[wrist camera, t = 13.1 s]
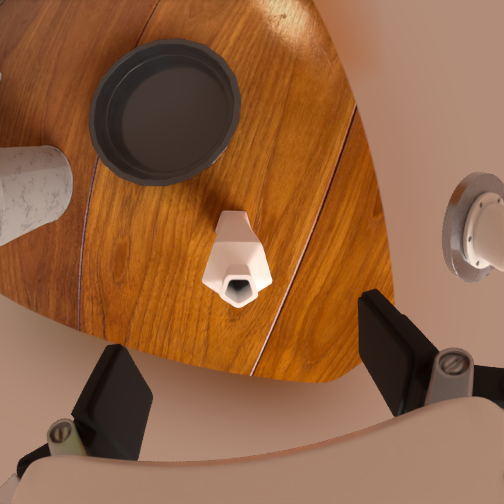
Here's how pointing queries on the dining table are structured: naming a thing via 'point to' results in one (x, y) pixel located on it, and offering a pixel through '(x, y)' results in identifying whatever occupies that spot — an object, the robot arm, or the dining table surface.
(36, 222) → the marbled tin can
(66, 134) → the dining table surface
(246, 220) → the white faceted vase
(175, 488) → the robot arm
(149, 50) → the bowl
